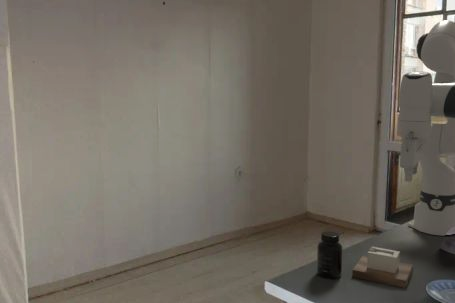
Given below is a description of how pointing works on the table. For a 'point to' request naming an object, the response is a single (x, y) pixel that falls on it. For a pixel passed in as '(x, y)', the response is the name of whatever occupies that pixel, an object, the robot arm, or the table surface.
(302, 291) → the table surface
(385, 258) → the open rectangular brace
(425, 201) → the robot arm
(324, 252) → the supplement bottle
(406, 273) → the board
